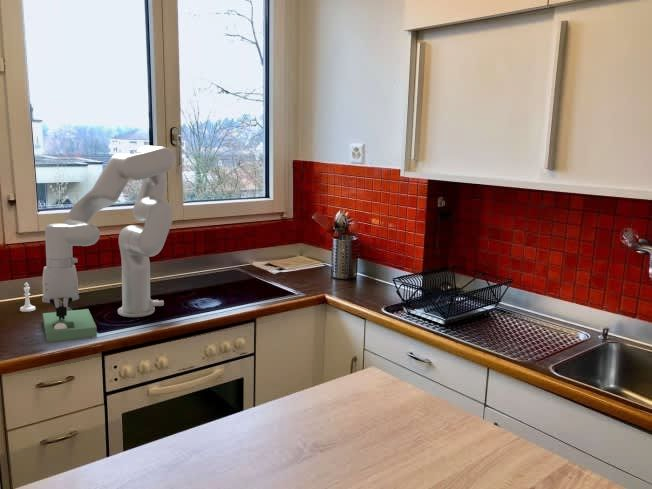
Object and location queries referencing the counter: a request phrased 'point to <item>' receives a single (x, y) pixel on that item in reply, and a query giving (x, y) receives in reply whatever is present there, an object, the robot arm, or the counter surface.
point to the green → (70, 325)
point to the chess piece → (27, 300)
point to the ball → (60, 326)
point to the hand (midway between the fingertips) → (61, 318)
